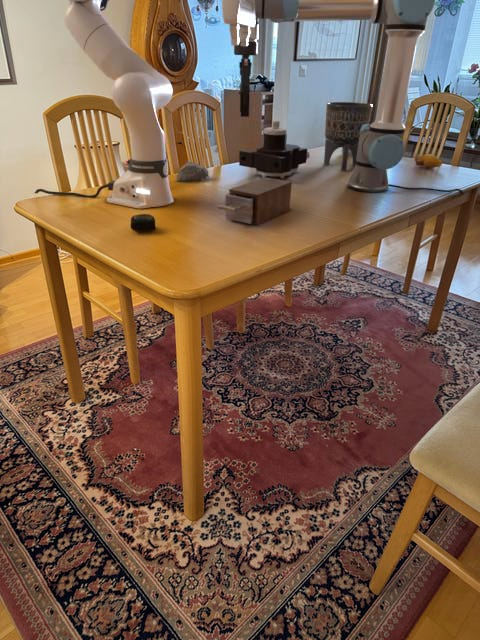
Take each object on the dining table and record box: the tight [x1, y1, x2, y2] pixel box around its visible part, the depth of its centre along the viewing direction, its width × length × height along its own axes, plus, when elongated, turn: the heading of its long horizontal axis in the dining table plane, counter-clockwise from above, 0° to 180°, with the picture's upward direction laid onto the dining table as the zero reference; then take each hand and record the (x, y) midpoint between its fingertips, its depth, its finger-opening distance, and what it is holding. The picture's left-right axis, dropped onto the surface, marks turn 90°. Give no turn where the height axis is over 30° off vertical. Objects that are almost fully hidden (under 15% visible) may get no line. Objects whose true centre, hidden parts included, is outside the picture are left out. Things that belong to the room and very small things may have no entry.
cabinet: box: [228, 176, 293, 226], centre depth 143 cm, size 20×10×9 cm, turn 145°
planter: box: [323, 101, 374, 172], centre depth 204 cm, size 20×20×26 cm
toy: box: [413, 153, 443, 170], centre depth 212 cm, size 11×6×15 cm
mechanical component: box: [238, 120, 311, 179], centre depth 191 cm, size 22×21×30 cm
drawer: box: [217, 193, 255, 225], centre depth 138 cm, size 25×9×7 cm, turn 145°
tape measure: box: [130, 213, 156, 233], centre depth 129 cm, size 7×7×4 cm
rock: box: [176, 160, 210, 183], centre depth 181 cm, size 13×9×6 cm, turn 131°
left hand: (239, 46), depth 123 cm, fingers open, 8 cm apart
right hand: (244, 114), depth 154 cm, fingers open, 13 cm apart
